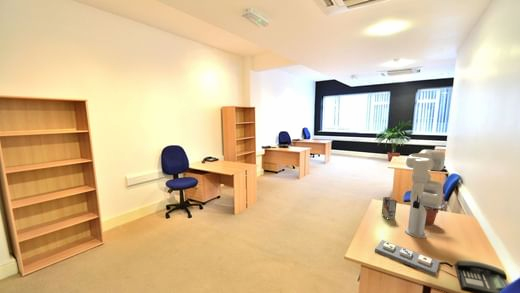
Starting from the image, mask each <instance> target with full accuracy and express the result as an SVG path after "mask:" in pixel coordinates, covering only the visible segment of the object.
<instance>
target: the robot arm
mask: <svg viewBox="0 0 520 293" xmlns="http://www.w3.org/2000/svg"><path fill="white" fill-rule="evenodd" d="M445 156H446V155H445V153H444V151H442V150H439V149H437V150H435V149H422V150H421V151H420V152H418V153H411V154H409V155H408V156H407V158H406V161H405V165H406V167H407V168H411V169H412V174H411V175H412V177H411V182H412V185H411V191H410V194H409V195H410V197H409V198H410V209H409V218H408V226H407V227H406V228H405V229H404V230H405V233H406V234H407V235H409V236H412V237H414V238H417V239H418V238H419V239H426V238H427V233H426V232H425V226H426V224H425V221H426V210H425V208H424V207H423V206H427V207H432V208H438V209H439V208H440V207H441V206H442V203H443V202H442V201H443V193H444V192H443V191H444V187H443V184H442V183H441V182H439V181H437V180H436V181H435V180H431V178H432V175H431V174H430V173H429V171H432V170H434V171H442V170H443V169H444V167H445V161H446V158H445Z"/></svg>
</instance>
